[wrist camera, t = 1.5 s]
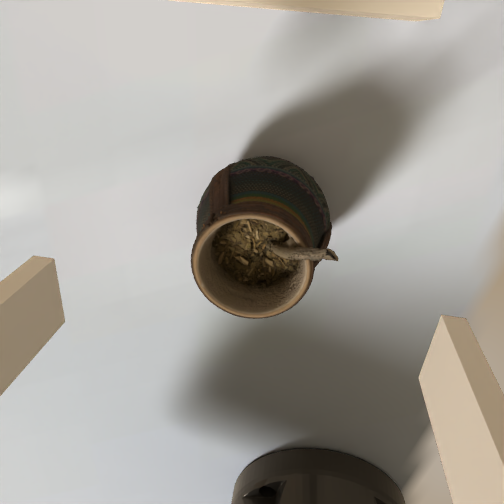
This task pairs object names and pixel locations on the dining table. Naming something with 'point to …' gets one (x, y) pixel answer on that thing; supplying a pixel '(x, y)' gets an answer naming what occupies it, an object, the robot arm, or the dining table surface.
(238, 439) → the dining table surface
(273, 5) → the cream square slab
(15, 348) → the robot arm
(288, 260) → the mate gourd
